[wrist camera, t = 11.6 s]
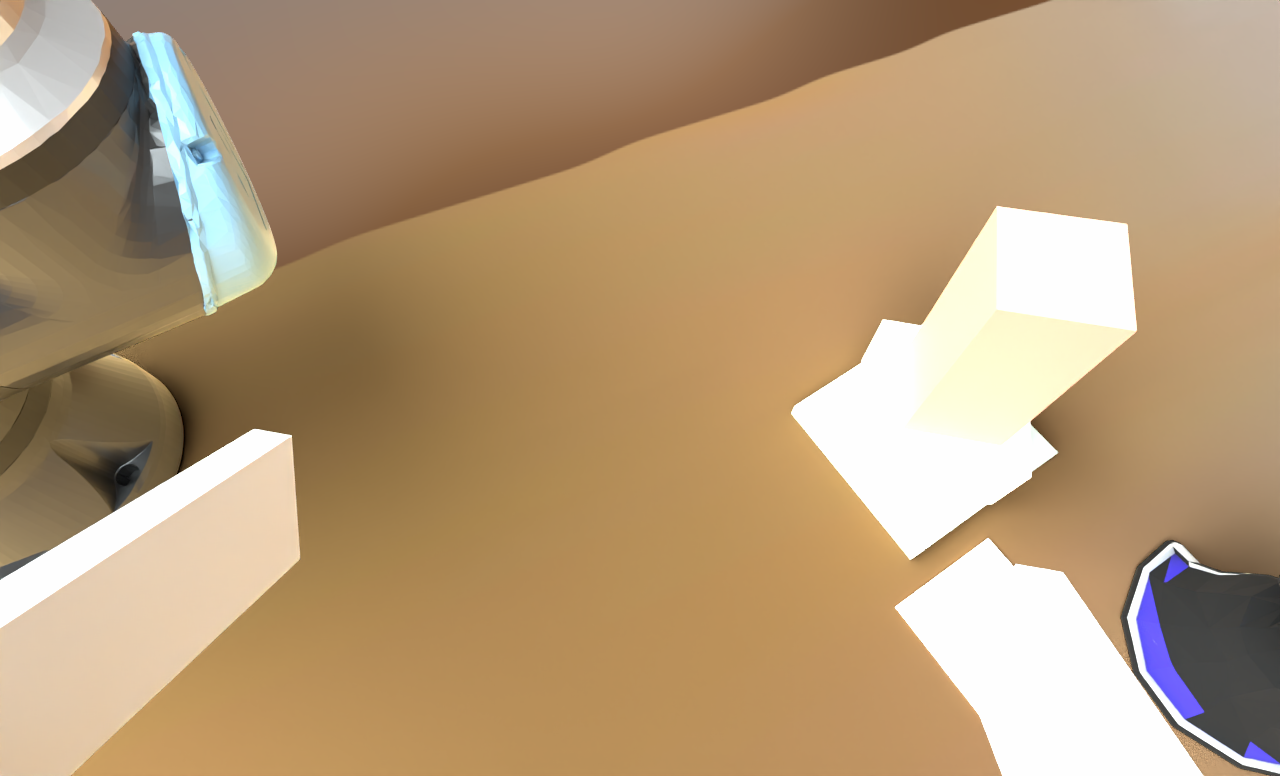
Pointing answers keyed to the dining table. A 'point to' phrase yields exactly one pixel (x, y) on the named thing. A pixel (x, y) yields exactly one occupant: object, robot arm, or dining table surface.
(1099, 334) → the tall brick
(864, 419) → the base brick
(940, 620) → the page
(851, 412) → the plate
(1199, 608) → the figurine
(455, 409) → the dining table surface
